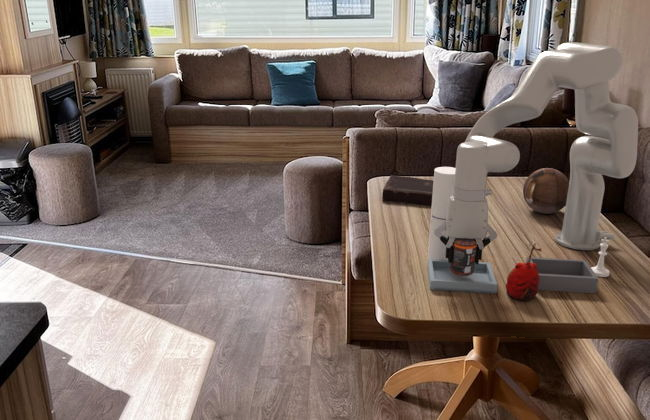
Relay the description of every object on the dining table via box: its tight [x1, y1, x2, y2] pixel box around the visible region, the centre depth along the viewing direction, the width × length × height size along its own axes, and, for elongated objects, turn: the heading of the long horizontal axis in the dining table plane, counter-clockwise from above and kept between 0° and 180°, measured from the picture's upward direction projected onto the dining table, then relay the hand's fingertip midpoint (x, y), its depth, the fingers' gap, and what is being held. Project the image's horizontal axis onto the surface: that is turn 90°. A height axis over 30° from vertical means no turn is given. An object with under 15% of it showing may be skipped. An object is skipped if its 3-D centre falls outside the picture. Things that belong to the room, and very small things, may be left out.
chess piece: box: [590, 237, 610, 278], centre depth 165 cm, size 5×5×10 cm
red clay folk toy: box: [505, 243, 542, 302], centre depth 151 cm, size 8×7×15 cm
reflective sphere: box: [522, 167, 570, 215], centre depth 209 cm, size 15×15×15 cm
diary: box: [381, 174, 434, 207], centre depth 224 cm, size 19×25×5 cm
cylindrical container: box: [427, 166, 456, 260], centre depth 170 cm, size 7×7×25 cm
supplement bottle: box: [450, 238, 478, 276], centre depth 158 cm, size 6×6×11 cm
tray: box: [427, 258, 498, 295], centre depth 161 cm, size 16×13×2 cm
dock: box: [525, 256, 599, 294], centre depth 161 cm, size 15×11×4 cm
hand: (462, 260), depth 159 cm, fingers closed on supplement bottle, 6 cm apart
